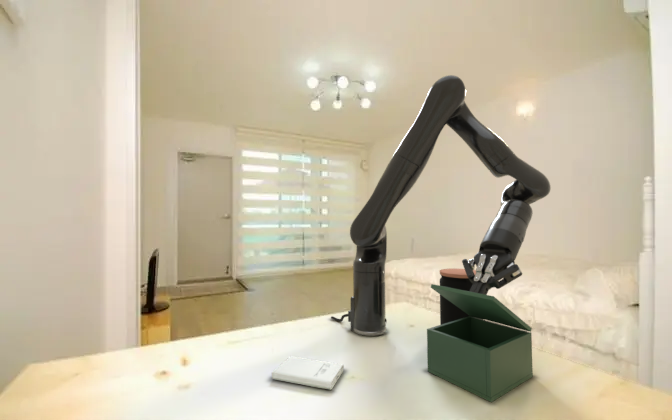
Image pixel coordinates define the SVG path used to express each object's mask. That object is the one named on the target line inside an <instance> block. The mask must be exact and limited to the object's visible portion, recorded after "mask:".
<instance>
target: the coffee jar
mask: <svg viewBox="0 0 672 420" xmlns="http://www.w3.org/2000/svg"><path fill="white" fill-rule="evenodd" d="M473 272H474V274H475V275H476V269H474V270H473ZM439 275H440V278H439V286H444V287H449V288H454V289H459V290H464V291H470V289H471V287H472V285H473V284H472V283H471V281H470V280H469V278H468V277H467V274H466V271H465V269H464V268H442V269H439ZM468 316H469V315H468V314H467V313H465V312H464V311H462V310H461V309H460V308H458V307H457V306H456V305H454V304H453V303H451V302H450V301H449V300H447V299H446V298H444V297H443V296H442V295H440V294H439V321H440V322H439V325H442V324H445V323H448V322H452V321H455V320H458V319H462V318H465V317H468ZM472 317H473V316H472ZM475 318H477V317H475ZM479 319H481V318H479Z"/></svg>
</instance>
